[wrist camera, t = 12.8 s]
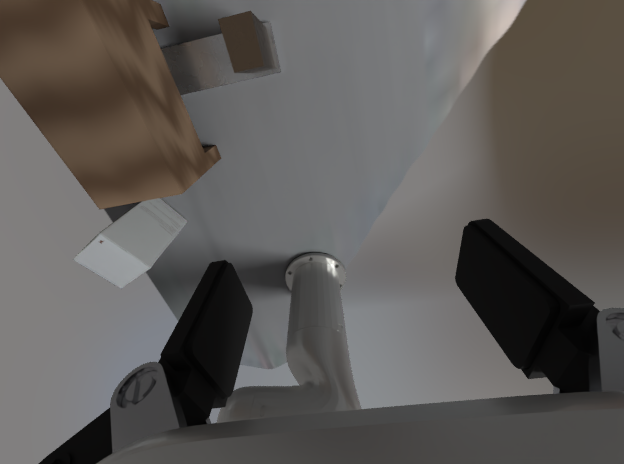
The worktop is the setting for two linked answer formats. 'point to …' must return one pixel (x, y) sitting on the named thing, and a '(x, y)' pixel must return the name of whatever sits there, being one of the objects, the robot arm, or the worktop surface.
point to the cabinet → (103, 95)
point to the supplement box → (132, 242)
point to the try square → (224, 55)
